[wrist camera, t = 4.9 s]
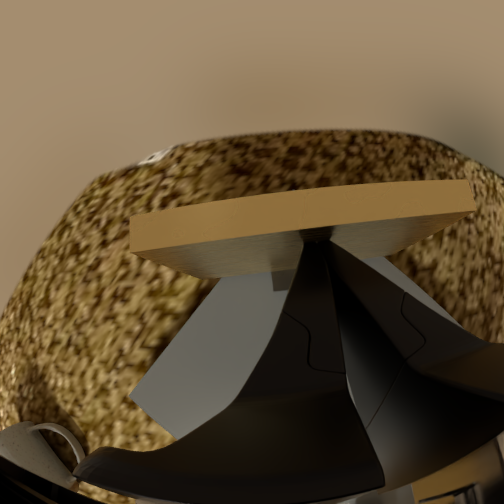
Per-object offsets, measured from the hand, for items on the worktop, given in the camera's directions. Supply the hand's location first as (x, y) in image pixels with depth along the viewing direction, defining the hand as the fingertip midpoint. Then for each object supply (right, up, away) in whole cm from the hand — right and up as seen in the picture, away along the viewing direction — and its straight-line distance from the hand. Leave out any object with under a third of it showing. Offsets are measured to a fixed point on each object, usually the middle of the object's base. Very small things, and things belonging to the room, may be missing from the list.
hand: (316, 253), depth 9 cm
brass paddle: (+1, 0, +6) cm, 6 cm away
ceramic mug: (-21, -19, +8) cm, 30 cm away
